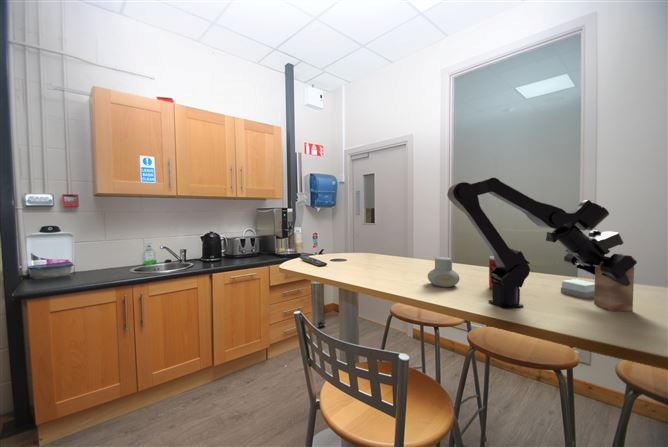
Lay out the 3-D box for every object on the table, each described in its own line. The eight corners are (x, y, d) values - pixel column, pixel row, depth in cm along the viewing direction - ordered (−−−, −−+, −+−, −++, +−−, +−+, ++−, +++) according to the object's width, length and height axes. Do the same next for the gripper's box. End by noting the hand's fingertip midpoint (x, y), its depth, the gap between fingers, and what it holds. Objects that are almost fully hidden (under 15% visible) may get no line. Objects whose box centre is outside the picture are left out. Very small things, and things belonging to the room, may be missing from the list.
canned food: (507, 286, 104) (507, 255, 103) (519, 292, 96) (519, 259, 95) (484, 285, 105) (485, 255, 104) (495, 292, 97) (495, 259, 96)
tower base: (584, 300, 89) (584, 293, 89) (560, 293, 96) (560, 287, 95) (600, 297, 91) (600, 290, 91) (575, 291, 98) (575, 285, 98)
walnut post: (609, 310, 78) (611, 262, 77) (594, 304, 83) (595, 259, 83) (632, 311, 77) (634, 262, 77) (615, 304, 83) (616, 259, 82)
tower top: (585, 292, 89) (585, 285, 89) (561, 287, 95) (562, 280, 95) (598, 290, 91) (598, 283, 91) (575, 285, 97) (575, 278, 97)
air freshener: (457, 283, 109) (457, 256, 109) (461, 289, 101) (461, 260, 101) (426, 281, 112) (426, 256, 111) (428, 287, 103) (428, 259, 103)
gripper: (629, 223, 71) (679, 268, 70) (575, 220, 89) (614, 256, 88) (592, 255, 72) (641, 300, 71) (547, 245, 90) (585, 281, 90)
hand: (619, 282), depth 80 cm, fingers closed on walnut post, 5 cm apart
